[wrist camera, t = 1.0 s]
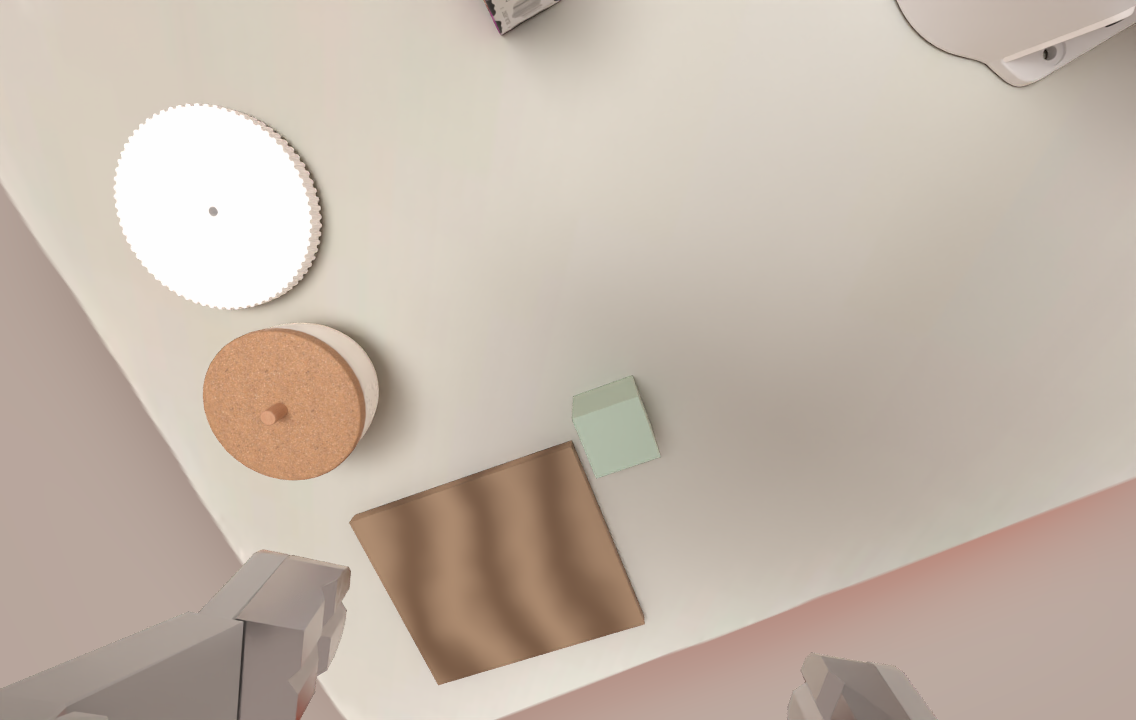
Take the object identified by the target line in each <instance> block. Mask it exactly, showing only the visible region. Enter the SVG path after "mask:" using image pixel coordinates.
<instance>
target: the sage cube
mask: <svg viewBox="0 0 1136 720" xmlns="http://www.w3.org/2000/svg"><path fill="white" fill-rule="evenodd" d="M572 421H573V423H574V426H575V428H576V431H577V433H578V436H579V438H580V440H581V443H582V445H583V448H584V450H585V453H586V455H587V457H588V460H589V462H590V465H591V467H592V470H593V472H594V475H595V477H596V479H597V478H600V477H603V476H606V475H609V474H612V473H615V472H618V471H621V470H624V469H627V468H630V467H633V466H636V465H639V464H642V463H645V462H648V461H651V460H654V459H657V458H660V457H661V456H660V453H659V449H658V446H657V443H656V439H655V436H654V432H653V429H652V427H651V424H650V421H649V419H648V416H647V413H646V411H645V408H644V405H643V402H642V400H641V397H640V394H639V392H638V389H637V386H636V384H635V381H634V378H633V376H629V377H626V378H623V379H621V380H618V381H615V382H612V383H609V384H607V385H604V386H601V387H598V388H595V389H592V390H590V391H587V392H584V393H581V394H578V395H576V396H573V409H572Z"/></svg>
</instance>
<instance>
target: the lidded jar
mask: <svg viewBox="0 0 1136 720" xmlns="http://www.w3.org/2000/svg"><path fill="white" fill-rule="evenodd" d="M378 398H379V386H378V379H377V374H376V371H375V369H374V366H373V364H372V362H371V360H370V358H369V357H368V355H367V354H366V353H365V351H364V350H363V349H362V348H361V347H360V346H359V345H358V344H357V343H356V342H355V341H354V340H353V339H351V338H350V337H349V336H347V335H345V334H344V333H342V332H340V331H338V330H335V329H333V328H330V327H328V326H324V325H320V324H314V323H289V324H282V325H277V326H273V327H270V328H266V329H262V330H258V331H254V332H250V333H248V334H245V335H243V336H241V337H239V338H236V339H234V340H233V341H231V342H230V343H229V344H227V345H226V346H224V347H223V348H222V349H221V350H220V351H219V352H218V353H217V355H216V356H215V358H214V359H213V361H212V362H211V364H210V366H209V368H208V371H207V373H206V377H205V381H204V386H203V401H204V410H205V413H206V416H207V420H208V422H209V425H210V427H211V429H212V431H213V433H214V435H215V436H216V438H217V439H218V441H219V442H220V443H221V444H222V446H223V447H224V448H225V449H226V451H227V452H228V453H230V454H231V455H232V456H233V457H234V458H235V459H236V460H238V461H239V462H241V463H242V464H243V465H245V466H246V467H248V468H250V469H252V470H254V471H256V472H258V473H261V474H263V475H266V476H269V477H273V478H278V479H283V480H305V479H310V478H315V477H318V476H321V475H323V474H326V473H328V472H329V471H331V470H333V469H334V468H336V467H337V466H338V465H340V464H341V463H342V462H343V461H344V460H345V459H346V458H347V457H348V456H349V455H350V453H351V452H352V451H353V450H354V448H355V447H356V445H357V443H358V442H359V441H360V440H361V438H362V437H363V436H364V435H365V433H366V431H367V430H368V428H369V426H370V424H371V422H372V420H373V418H374V415H375V411H376V408H377V405H378Z"/></svg>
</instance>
